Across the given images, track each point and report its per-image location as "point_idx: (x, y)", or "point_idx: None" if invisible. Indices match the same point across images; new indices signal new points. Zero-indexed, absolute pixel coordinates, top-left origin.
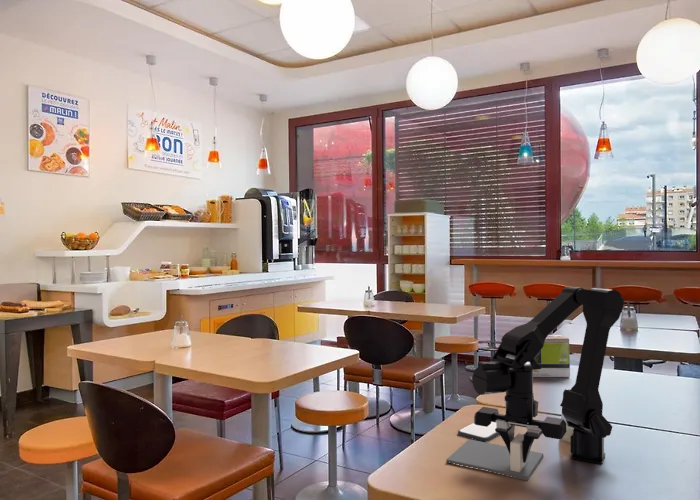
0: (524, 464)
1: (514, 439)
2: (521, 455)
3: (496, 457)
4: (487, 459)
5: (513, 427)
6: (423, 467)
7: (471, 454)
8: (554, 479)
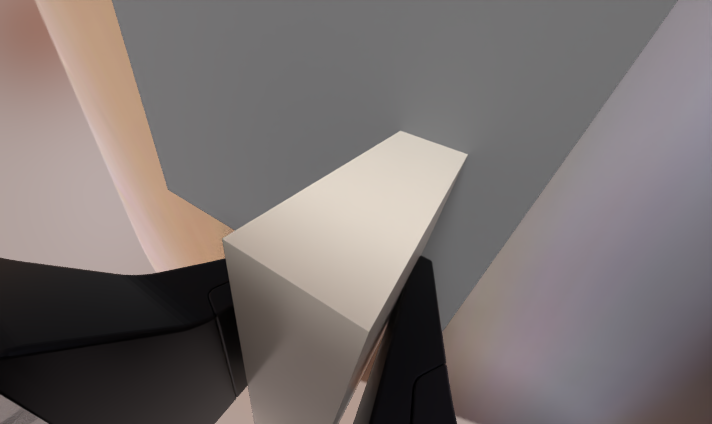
0: (428, 238)
1: (258, 400)
2: (373, 352)
3: (279, 132)
4: (255, 169)
5: (83, 393)
6: (166, 219)
7: (190, 119)
8: (609, 355)
